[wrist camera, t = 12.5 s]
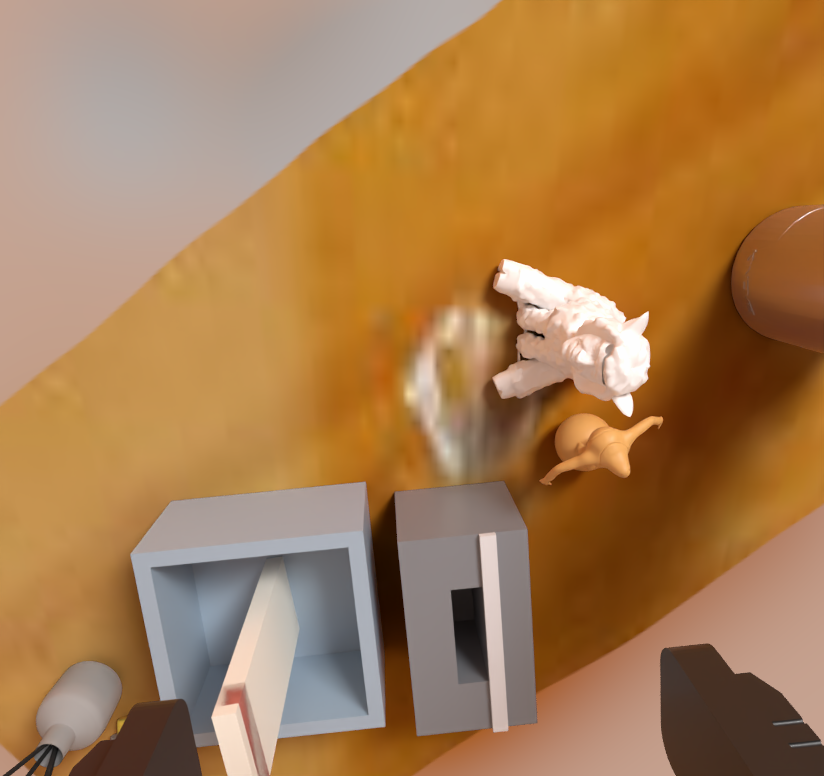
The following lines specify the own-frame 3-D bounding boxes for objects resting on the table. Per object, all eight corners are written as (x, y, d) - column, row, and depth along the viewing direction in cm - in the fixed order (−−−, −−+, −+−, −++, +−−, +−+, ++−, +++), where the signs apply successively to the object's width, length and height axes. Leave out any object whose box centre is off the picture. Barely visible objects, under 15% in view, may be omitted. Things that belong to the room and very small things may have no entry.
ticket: (266, 559, 48) (211, 717, 32) (282, 556, 48) (235, 712, 32) (283, 631, 49) (239, 816, 34) (299, 628, 49) (262, 812, 34)
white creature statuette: (490, 258, 45) (529, 268, 33) (616, 254, 45) (699, 264, 33) (490, 394, 47) (526, 449, 35) (610, 390, 47) (685, 443, 36)
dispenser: (394, 491, 48) (397, 545, 40) (503, 480, 48) (528, 531, 40) (411, 659, 52) (417, 740, 43) (513, 649, 52) (538, 727, 44)
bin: (365, 481, 48) (362, 530, 40) (384, 651, 51) (385, 726, 44) (171, 501, 48) (130, 554, 40) (202, 670, 51) (170, 750, 43)
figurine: (536, 482, 49) (585, 563, 37) (499, 413, 47) (538, 474, 36) (639, 429, 48) (721, 493, 36) (604, 357, 47) (678, 400, 35)
